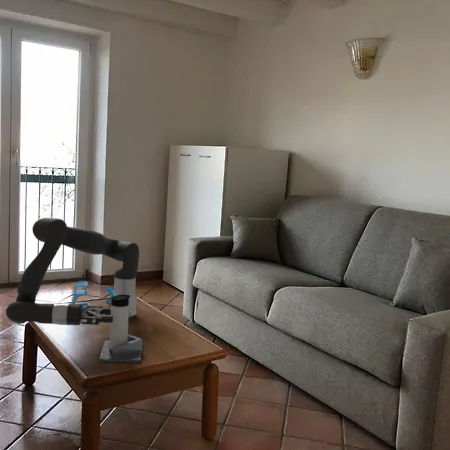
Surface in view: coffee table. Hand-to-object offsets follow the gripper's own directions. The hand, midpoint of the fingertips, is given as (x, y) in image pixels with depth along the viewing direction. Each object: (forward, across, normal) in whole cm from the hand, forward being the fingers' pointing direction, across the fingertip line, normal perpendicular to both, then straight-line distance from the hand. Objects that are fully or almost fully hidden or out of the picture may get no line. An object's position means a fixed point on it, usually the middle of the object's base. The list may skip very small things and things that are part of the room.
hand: (114, 315), depth 185 cm
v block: (+2, 0, +14) cm, 14 cm away
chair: (-20, +55, +14) cm, 60 cm away
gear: (-5, +64, +14) cm, 66 cm away
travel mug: (+2, 0, +13) cm, 13 cm away
